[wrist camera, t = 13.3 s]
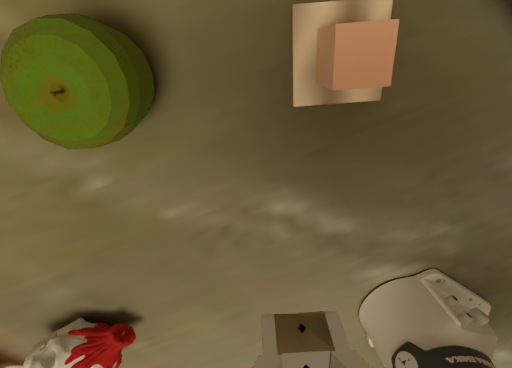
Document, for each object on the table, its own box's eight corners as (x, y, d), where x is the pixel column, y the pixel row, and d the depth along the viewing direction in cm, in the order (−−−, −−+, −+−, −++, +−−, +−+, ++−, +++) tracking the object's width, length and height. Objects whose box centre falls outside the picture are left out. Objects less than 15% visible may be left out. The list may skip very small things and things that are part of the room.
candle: (40, 330, 47) (111, 285, 45) (90, 365, 51) (156, 325, 50) (2, 386, 38) (87, 333, 37) (66, 422, 43) (144, 375, 41)
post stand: (390, -3, 28) (427, -16, 22) (378, 99, 32) (406, 109, 27) (291, 5, 28) (303, -7, 22) (292, 106, 32) (302, 117, 27)
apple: (98, -5, 27) (15, -35, 17) (182, 82, 31) (152, 97, 21) (38, 77, 30) (-62, 90, 20) (120, 147, 34) (70, 186, 24)
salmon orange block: (367, 25, 29) (399, 18, 23) (362, 79, 31) (390, 85, 25) (316, 29, 29) (335, 23, 23) (315, 82, 31) (332, 90, 25)
